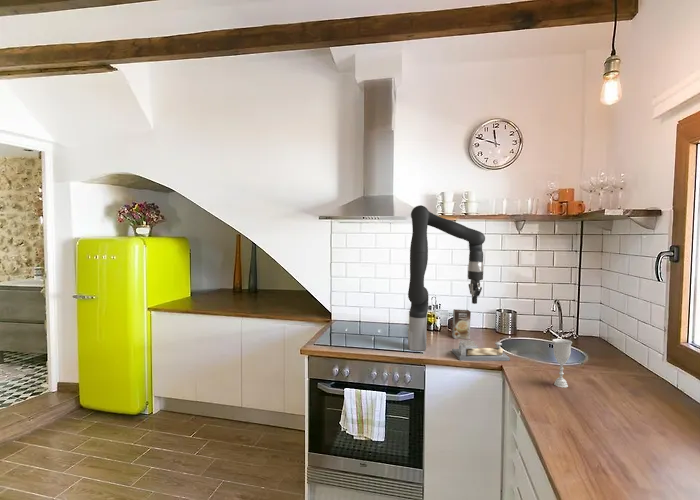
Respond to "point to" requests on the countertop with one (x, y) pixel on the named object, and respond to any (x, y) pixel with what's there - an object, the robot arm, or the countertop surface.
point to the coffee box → (461, 324)
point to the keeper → (466, 346)
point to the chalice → (561, 358)
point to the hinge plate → (482, 356)
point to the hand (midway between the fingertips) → (474, 303)
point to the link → (484, 351)
